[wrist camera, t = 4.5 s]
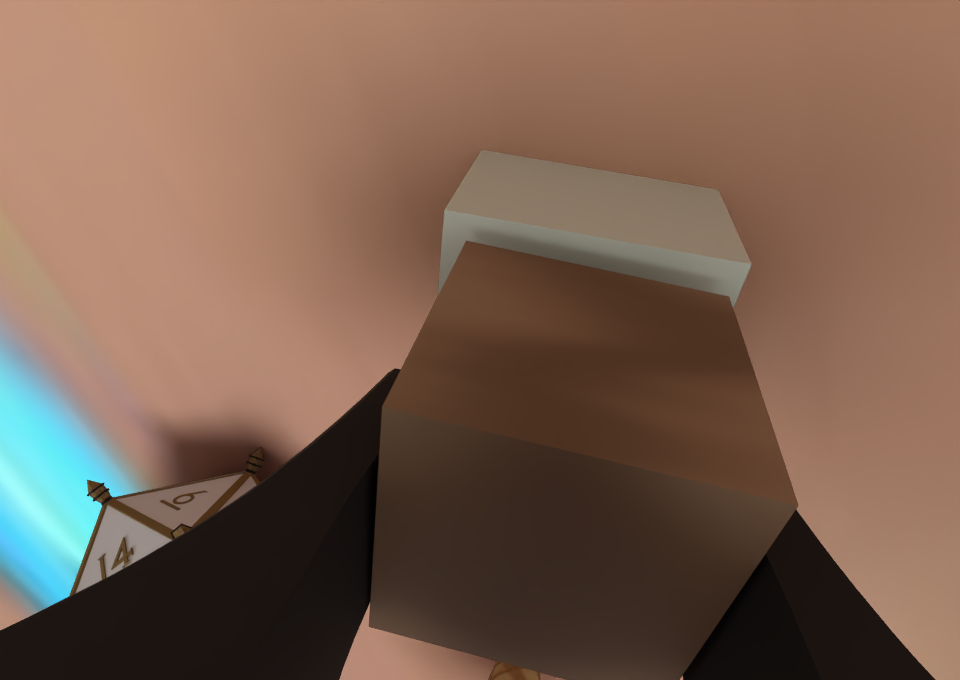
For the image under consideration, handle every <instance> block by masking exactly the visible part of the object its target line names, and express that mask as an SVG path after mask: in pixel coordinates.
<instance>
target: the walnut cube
mask: <svg viewBox="0 0 960 680" xmlns="http://www.w3.org/2000/svg"><path fill="white" fill-rule="evenodd" d="M797 507H798V503H797V500H796V497H795V494H794V490H793V487H792V484H791V481H790V478H789V475H788V472H787V469H786V466H785V463H784V460H783V457H782V454H781V451H780V448H779V445H778V442H777V439H776V436H775V433H774V430H773V427H772V424H771V421H770V418H769V415H768V412H767V409H766V406H765V403H764V400H763V397H762V394H761V391H760V388H759V385H758V382H757V379H756V376H755V373H754V370H753V367H752V364H751V361H750V358H749V355H748V352H747V349H746V346H745V343H744V340H743V337H742V334H741V331H740V328H739V325H738V322H737V319H736V316H735V313H734V309H733V306H732V303H731V300H730V297H729V296H725V295H720V294H715V293H710V292H706V291H701V290H696V289H692V288H687V287H682V286H678V285H673V284H668V283H663V282H659V281H654V280H649V279H645V278H640V277H635V276H631V275H626V274H621V273H617V272H612V271H607V270H602V269H598V268H593V267H588V266H584V265H579V264H574V263H570V262H565V261H560V260H555V259H551V258H546V257H541V256H537V255H532V254H527V253H523V252H518V251H513V250H508V249H504V248H499V247H494V246H490V245H485V244H480V243H476V242H471V241H466V242H465V244H464V246H463V248H462V250H461V252H460V254H459V256H458V258H457V260H456V262H455V264H454V266H453V268H452V270H451V271H450V273H449V275H448V277H447V279H446V281H445V283H444V285H443V287H442V289H441V291H440V293H439V295H438V297H437V299H436V301H435V303H434V305H433V307H432V309H431V311H430V313H429V315H428V317H427V319H426V321H425V323H424V325H423V327H422V329H421V331H420V333H419V335H418V337H417V339H416V341H415V343H414V345H413V347H412V349H411V351H410V353H409V355H408V357H407V358H406V360H405V362H404V364H403V366H402V368H401V370H400V372H399V374H398V376H397V378H396V380H395V382H394V384H393V386H392V388H391V390H390V392H389V394H388V396H387V398H386V400H385V402H384V404H383V406H382V416H381V433H380V450H379V466H378V483H377V500H376V516H375V533H374V549H373V566H372V583H371V599H370V616H369V627H371V628H375V629H379V630H383V631H386V632H390V633H394V634H398V635H401V636H405V637H409V638H413V639H416V640H420V641H424V642H428V643H431V644H435V645H439V646H443V647H446V648H450V649H454V650H458V651H461V652H465V653H469V654H473V655H476V656H480V657H484V658H488V659H491V660H495V661H499V662H503V663H506V664H510V665H514V666H518V667H521V668H525V669H529V670H533V671H536V672H540V673H544V674H548V675H551V676H555V677H559V678H563V679H566V680H680V678H681V677H682V675H683V674H684V672H685V671H686V670H687V668H688V667H689V665H690V664H691V662H692V661H693V659H694V658H695V656H696V655H697V653H698V652H699V651H700V649H701V648H702V646H703V645H704V643H705V642H706V640H707V639H708V637H709V636H710V634H711V633H712V631H713V630H714V629H715V627H716V626H717V624H718V623H719V621H720V620H721V618H722V617H723V615H724V614H725V612H726V611H727V610H728V608H729V607H730V605H731V604H732V602H733V601H734V599H735V598H736V596H737V595H738V593H739V592H740V590H741V589H742V588H743V586H744V585H745V583H746V582H747V580H748V579H749V577H750V576H751V574H752V573H753V571H754V570H755V569H756V567H757V566H758V564H759V563H760V561H761V560H762V558H763V557H764V555H765V554H766V552H767V551H768V549H769V548H770V547H771V545H772V544H773V542H774V541H775V539H776V538H777V536H778V535H779V533H780V532H781V530H782V529H783V528H784V526H785V525H786V523H787V522H788V520H789V519H790V517H791V516H792V514H793V513H794V511H795V510H796V508H797Z"/></svg>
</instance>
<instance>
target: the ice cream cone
mask: <svg viewBox="0 0 960 680" xmlns="http://www.w3.org/2000/svg"><path fill="white" fill-rule="evenodd" d="M488 680H540V675H539V672H536V671H533V670H529V669H525V668H521V667H518V666H514V665H510V664H506V663H503V662H499V661H497V662H496V664H495V666H494V668H493V670H492V672H491V675H490V677H489V679H488Z"/></svg>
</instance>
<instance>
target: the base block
mask: <svg viewBox="0 0 960 680" xmlns="http://www.w3.org/2000/svg"><path fill="white" fill-rule="evenodd" d="M466 241H471V242H476V243H480V244H485V245H490V246H494V247H499V248H504V249H508V250H513V251H518V252H523V253H527V254H532V255H537V256H541V257H546V258H551V259H555V260H560V261H565V262H570V263H574V264H579V265H584V266H588V267H593V268H598V269H602V270H607V271H612V272H617V273H621V274H626V275H631V276H635V277H640V278H645V279H649V280H654V281H659V282H663V283H668V284H673V285H678V286H682V287H687V288H692V289H696V290H701V291H706V292H710V293H715V294H720V295H725V296H729V297H730V300H731V303H732V306H733V308H734V305H735V303H736V301H737V298H738V296H739V293H740V291H741V289H742V286H743V284H744V282H745V279H746V277H747V274H748V272H749V270H750V267H751V265H752V264H751V262H750V259H749V257H748V255H747V253H746V250H745V248H744V246H743V244H742V242H741V239H740V237H739V235H738V233H737V230H736V228H735V226H734V224H733V221H732V219H731V217H730V215H729V212H728V210H727V208H726V206H725V203H724V201H723V199H722V197H721V194H720V192H719V190H718V189H712V188H706V187H700V186H694V185H688V184H682V183H676V182H670V181H665V180H659V179H653V178H647V177H641V176H635V175H629V174H623V173H617V172H611V171H605V170H599V169H593V168H587V167H581V166H575V165H569V164H563V163H558V162H552V161H546V160H540V159H534V158H528V157H522V156H516V155H510V154H504V153H498V152H492V151H486V150H481V152H480V153H479V155H478V156H477V158H476V160H475V161H474V163H473V164H472V166H471V168H470V169H469V171H468V172H467V174H466V176H465V177H464V179H463V181H462V182H461V184H460V185H459V187H458V189H457V190H456V192H455V193H454V195H453V197H452V198H451V200H450V202H449V203H448V205H447V206H446V208H445V210H444V221H443V234H442V246H441V258H440V271H439V283H438V295H439V293H440V291H441V289H442V287H443V285H444V283H445V281H446V279H447V277H448V275H449V273H450V271H451V270H452V268H453V266H454V264H455V262H456V260H457V258H458V256H459V254H460V252H461V250H462V248H463V246H464V244H465V242H466ZM438 295H437V297H438Z"/></svg>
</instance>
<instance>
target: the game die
mask: <svg viewBox="0 0 960 680" xmlns="http://www.w3.org/2000/svg"><path fill="white" fill-rule="evenodd" d="M249 456H250V458H249V461H247V463H248V464H247V469H246V470H245V471H241V472H236V473H231V474H226V475H221V476H216V477H211V478H206V479H201V480H197V481H192V482H187V483H182V484H177V485H172V486H167V487H162V488H157V489H152V490H147V491H143V492H138V493H133V494H128V495H123V496H118V497H112V496H111V495H110V493H109V491H108V490H110V489H109V488H108V489H107V488H106V487H105V486H104V483H98V482H94V481H90V480H87V484H88V495H87V496H89V495H90V496H91V497H92V498H93V501H95V500H96V501H98V502H100V503H101V504H102V508H101V511H100V514H99V516H98V519H97V522H96V525H95V527H94V530H93V533H92V536H91V538H90V541H89V544H88V546H87V549H86V552H85V555H84V557H83V560H82V563H81V566H80V568H79V571H78V574H77V577H76V579H75V582H74V585H73V587H72V590H71V593H70V596H71V595H73V594H75V593H77V592H79V591H81V590H83V589H85V588H87V587H89V586H91V585H93V584H95V583H97V582H99V581H101V580H103V579H105V578H107V577H109V576H110V575H112V574H114V573H116V572H118V571H120V570H121V569H123V568H125V567H127V566H129V565H130V564H132V563H134V562H136V561H138V560H139V559H141V558H143V557H145V556H146V555H148V554H150V553H151V552H153V551H155V550H156V549H158V548H160V547H162V546H163V545H165V544H167V543H168V542H170V541H172V540H173V539H175V538H177V537H178V536H180V535H182V534H183V533H185V532H187V531H188V530H190V529H192V528H193V527H195V526H196V525H198V524H200V523H201V522H203V521H204V520H206V519H207V518H209V517H210V516H212V515H213V514H215V513H217V512H218V511H220V510H221V509H223V508H224V507H226V506H227V505H229V504H230V503H232V502H233V501H235V500H236V499H238V498H239V497H240V496H242V495H243V494H245V493H246V492H247V491H249V490H250V489H252V488H253V487H255V486H256V485H257V484H259V483H260V481H259V480H258V478H257V476H256V475H255V472H256V471H257V470H258V468H259V467H260V468H261V467H262V466H260V465H261V463H262V462H263V461H265V460H263V454H262V448H259V449H258V450H257V451H256V452H254V453H253V454H252V455H249Z"/></svg>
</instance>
